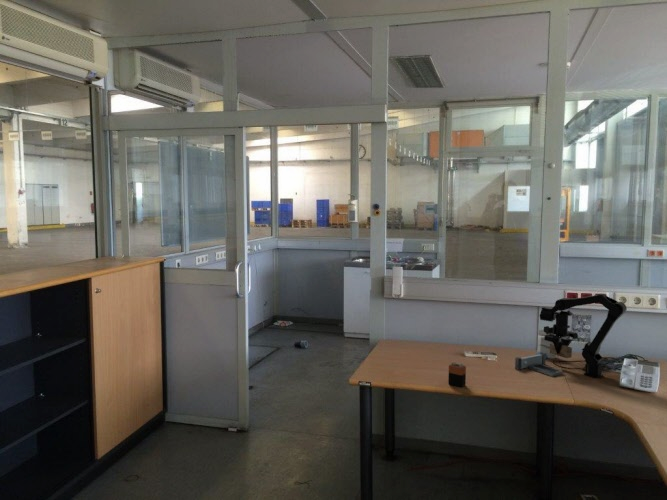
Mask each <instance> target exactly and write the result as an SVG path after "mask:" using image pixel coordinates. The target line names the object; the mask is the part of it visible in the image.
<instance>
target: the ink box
mask: <svg viewBox="0 0 667 500" xmlns="http://www.w3.org/2000/svg"><path fill="white" fill-rule="evenodd" d="M545 335H548V334H546V333H545V332H544V329H538V334H537V351H536V352H537V354H536V355H539V354H540V353H542V352H543V353H546V359H556V356H557V355H554V354H551V353H550V344H552V343H553V342H550V341H546V340H544V337H545ZM552 335H553V334H552Z"/></svg>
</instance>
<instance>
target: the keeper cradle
mask: <svg viewBox="0 0 667 500" xmlns="http://www.w3.org/2000/svg"><path fill="white" fill-rule="evenodd" d="M527 369H529V370H530V371H534V372H537V373H540V374H542V375H546V376H548V377H552V378H554V377H558V376H562V375H564V370H561V369H558V368H555V367H551V366H548V365H546V364H545V365H542V364H539V363H538V364H533V365H528V367H527Z"/></svg>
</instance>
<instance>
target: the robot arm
mask: <svg viewBox="0 0 667 500" xmlns="http://www.w3.org/2000/svg"><path fill="white" fill-rule="evenodd" d="M598 303H599V304H601V305H602V306H603V307H604V308H606V309H607V310H608V312H607V315H606V318H605V320H604V322H603V323H602V325H601V326H600V327H599V330H598V331H597V333H596V335H595V336H594V338H593V339H592V340H591V341H588V342H586V343H585V344H584V347H583V348H582V349H581V355H582V358H583V359H584V362H585V365H584V372H583V375H586V376H589V377H592V378H594V379H597V378H600V377H603V376H604V374H602V371H603V364H602V362H603V360H604V357H602V355H601V354H600V353H599V352H600V350H601V345H602V344H603V342H604V341H605V339H606V337H607V336H608V334H609V333H610V331H611V330H612V328H613V327H614V325H615V323H616V322H617V321H618V320H619V319H620V318H621V317H622V316H623V315H624V314H625V313H626V311H627V308H628V307H627V305H626V304H625V303H624V302H622V301H617V300H616V299H614V298H612V297H610V296H608V295H607V294H605V293H599V294H594V295H589V296H582V297H576V298H571V297H563V298H559V299H557V300H556V301H555V302H554V306H553V307H552V308H549V307H546V306H542V307H541V310H540V313H539V319H540V321H544V322H551V323H552V322H554V321H555V323H554V324H553V325H552V327H550V326H548V325H547V326H543V330H544V332H543V333H546V334H548V335H545V337H544V340H546V341H550V342H553V344H554V346H555V349H556V352H557V354H559V353H560V350H561V347H562V345H564V346H568V347H570V344H571V343H572V342H573V341H574V340H578V339H579V334H578V333H577V332H574V331H572V330H571V331H570V330H568V329H569V328H571V326H570V325H569V317H571V316H573V315H574V314H573V312H571V310H570V309H571V308H574V307H579V306H586V305H593V304H598ZM568 309H569V310H568ZM565 310H567V311H565ZM558 311H559V312H558ZM552 334H553V335H552ZM571 338H572V339H571Z"/></svg>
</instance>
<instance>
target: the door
mask: <svg viewBox="0 0 667 500" xmlns="http://www.w3.org/2000/svg"><path fill="white" fill-rule="evenodd" d="M520 358H521V370H522V369H528V365H533V364H538V363H539V364H542V355H541V354H539V355H537V354H535V355H529V356H524V357H520Z"/></svg>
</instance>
